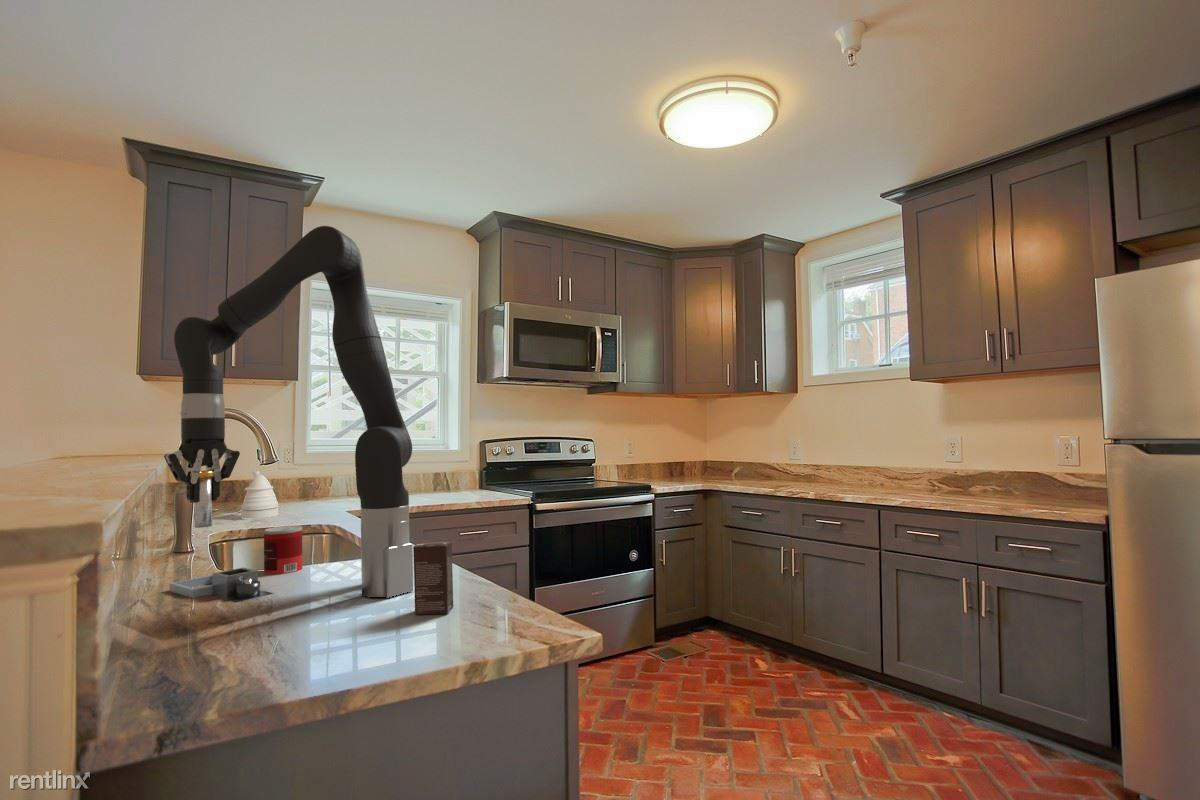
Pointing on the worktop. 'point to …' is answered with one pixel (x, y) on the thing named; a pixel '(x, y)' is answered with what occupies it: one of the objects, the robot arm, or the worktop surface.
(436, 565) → the box
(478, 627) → the worktop surface
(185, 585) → the tray
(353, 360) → the robot arm
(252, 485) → the honey pot
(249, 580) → the pulley bracket
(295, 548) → the canned food
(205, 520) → the lock pin
